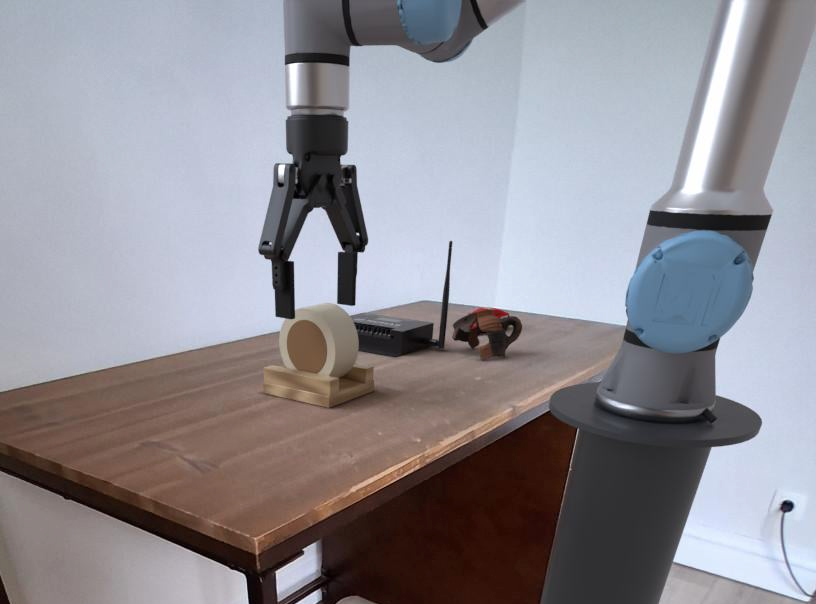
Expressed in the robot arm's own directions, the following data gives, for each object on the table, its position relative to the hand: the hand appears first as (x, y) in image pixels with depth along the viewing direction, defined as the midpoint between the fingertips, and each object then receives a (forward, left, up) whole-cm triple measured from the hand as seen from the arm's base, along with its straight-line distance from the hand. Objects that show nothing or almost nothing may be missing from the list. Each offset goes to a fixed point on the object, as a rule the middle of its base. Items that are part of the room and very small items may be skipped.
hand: (317, 311), depth 92 cm
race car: (+2, -57, -11) cm, 58 cm away
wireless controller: (+9, -33, -11) cm, 36 cm away
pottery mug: (-8, -38, -11) cm, 40 cm away
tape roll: (0, 0, -9) cm, 9 cm away
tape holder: (0, 0, -11) cm, 11 cm away
